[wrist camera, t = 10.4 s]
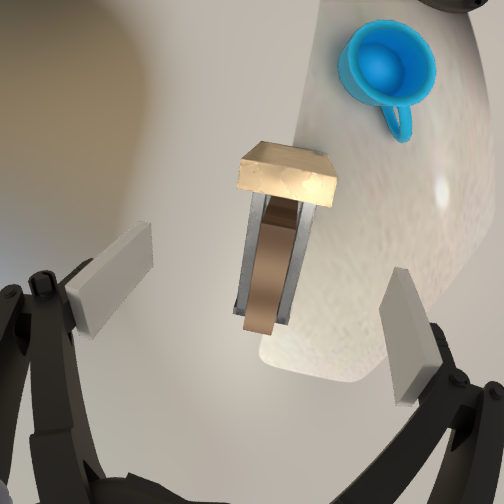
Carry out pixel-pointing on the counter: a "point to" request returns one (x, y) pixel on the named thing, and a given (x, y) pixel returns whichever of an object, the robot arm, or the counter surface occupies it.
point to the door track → (288, 186)
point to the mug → (388, 71)
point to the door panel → (271, 264)
